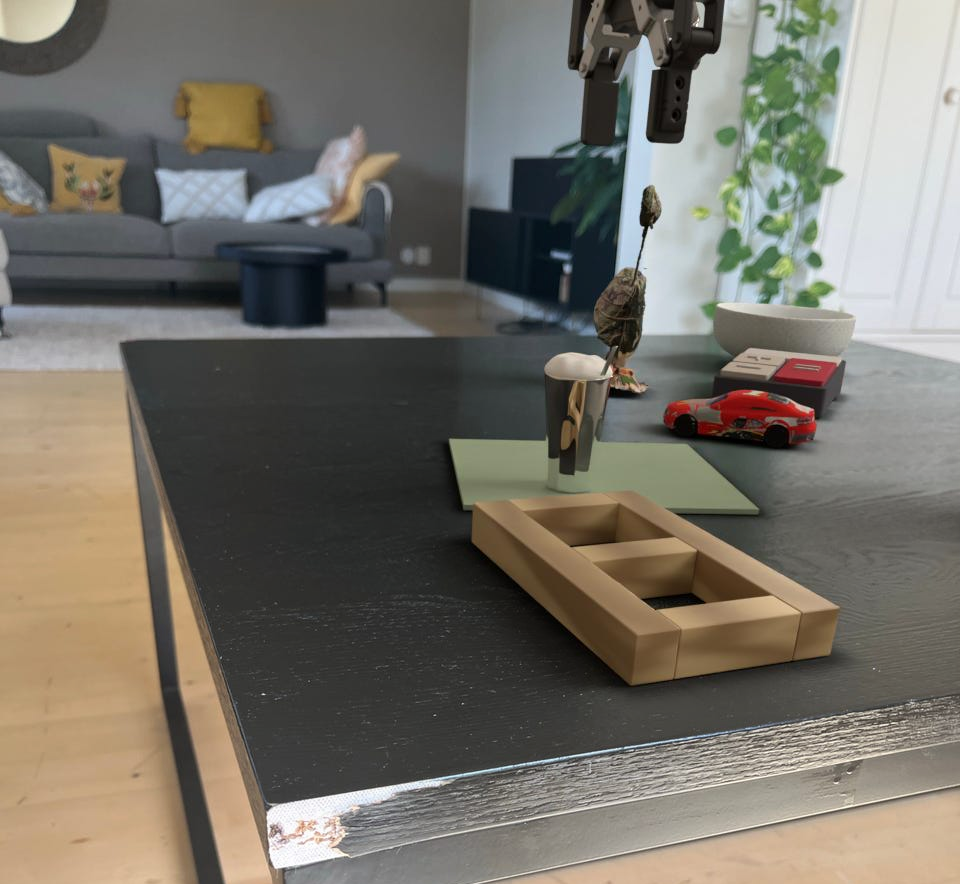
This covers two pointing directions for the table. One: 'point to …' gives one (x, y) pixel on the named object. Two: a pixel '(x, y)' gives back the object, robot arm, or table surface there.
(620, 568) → the frame
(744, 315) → the cereal bowl
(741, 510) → the mat
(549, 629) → the table surface
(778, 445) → the race car
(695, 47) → the robot arm
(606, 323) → the plant with pod
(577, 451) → the milkshake
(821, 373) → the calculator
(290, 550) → the table surface
